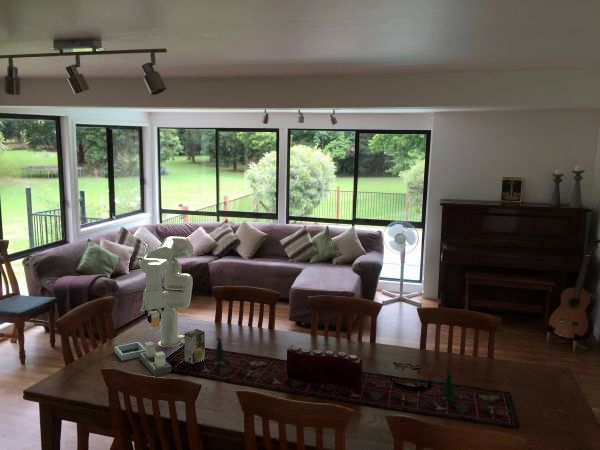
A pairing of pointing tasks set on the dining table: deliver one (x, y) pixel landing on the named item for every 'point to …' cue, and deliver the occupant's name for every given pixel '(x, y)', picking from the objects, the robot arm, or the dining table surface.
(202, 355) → the coffee box
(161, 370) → the gray rectangular tray
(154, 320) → the orange fuse
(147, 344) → the back fuse
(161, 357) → the front fuse
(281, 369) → the dining table surface
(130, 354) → the slate tray
